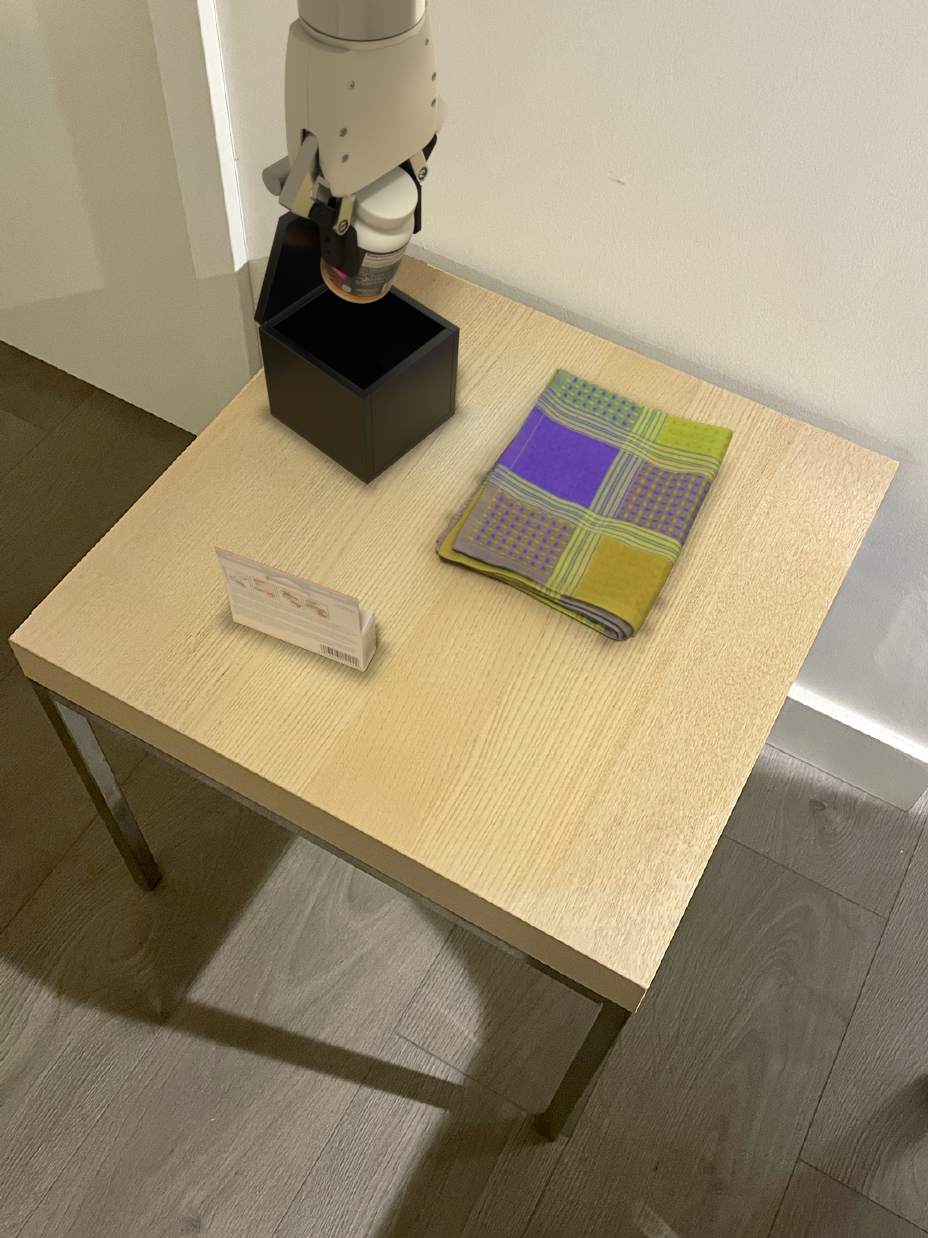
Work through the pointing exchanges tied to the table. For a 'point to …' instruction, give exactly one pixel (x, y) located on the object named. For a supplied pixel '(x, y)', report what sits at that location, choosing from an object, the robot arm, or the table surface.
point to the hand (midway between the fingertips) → (372, 243)
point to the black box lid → (289, 253)
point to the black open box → (360, 375)
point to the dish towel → (589, 504)
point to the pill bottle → (377, 237)
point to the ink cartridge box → (298, 611)
